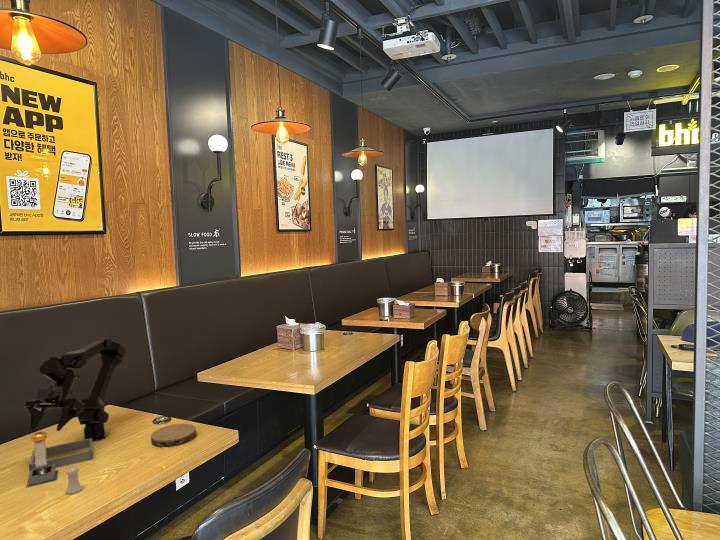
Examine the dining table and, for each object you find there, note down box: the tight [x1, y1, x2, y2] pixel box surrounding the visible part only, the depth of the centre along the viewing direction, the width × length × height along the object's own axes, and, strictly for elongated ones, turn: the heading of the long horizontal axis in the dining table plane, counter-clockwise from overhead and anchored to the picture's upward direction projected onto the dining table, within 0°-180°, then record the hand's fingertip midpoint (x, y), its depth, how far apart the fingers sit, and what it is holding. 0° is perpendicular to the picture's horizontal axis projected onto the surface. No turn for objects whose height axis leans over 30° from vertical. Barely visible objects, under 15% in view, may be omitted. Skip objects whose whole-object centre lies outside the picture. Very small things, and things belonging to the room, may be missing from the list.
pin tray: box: [28, 438, 94, 471], centre depth 165 cm, size 18×13×4 cm
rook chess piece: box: [65, 465, 83, 495], centre depth 143 cm, size 4×4×8 cm
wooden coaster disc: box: [150, 423, 197, 449], centre depth 181 cm, size 16×16×3 cm
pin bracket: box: [25, 464, 59, 488], centre depth 151 cm, size 8×8×4 cm
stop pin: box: [30, 431, 48, 475], centre depth 151 cm, size 4×4×14 cm
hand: (44, 430), depth 159 cm, fingers open, 9 cm apart
